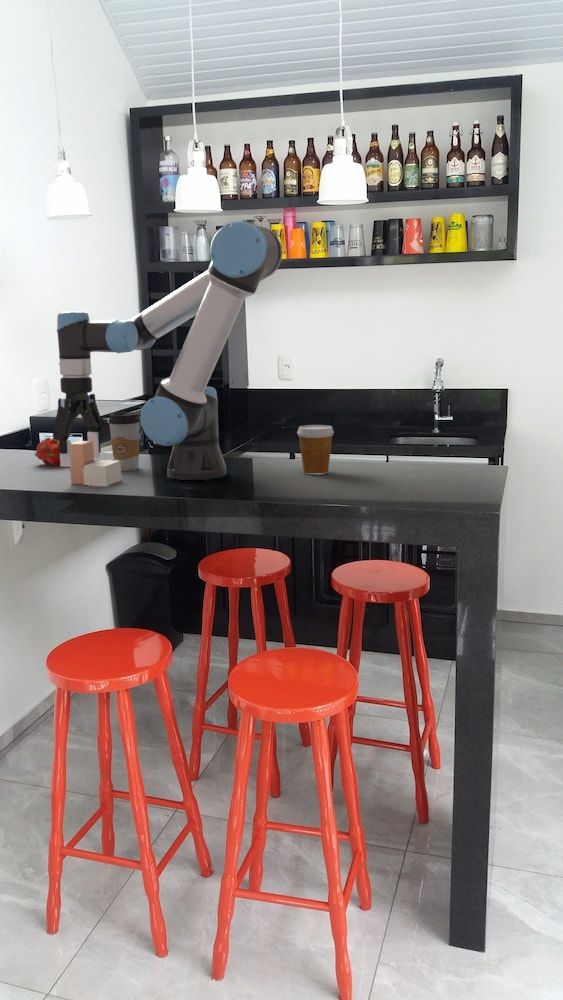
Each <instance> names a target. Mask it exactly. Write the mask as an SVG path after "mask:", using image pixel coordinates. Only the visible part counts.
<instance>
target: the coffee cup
mask: <svg viewBox="0 0 563 1000" xmlns="http://www.w3.org/2000/svg"><path fill="white" fill-rule="evenodd" d="M140 423H141V420H140V417H139V416H138V412H131V411H130V412H127V411H126V412H125V411H124V412H113V413H110V414H109V417H108V425H109V431H110V442H111V449H112V456H113V461H120V465H121V472H128V471H129V472H130V470H131V471H136V470H137V469H139V468H138V467H140V461H139V460H140V459H139V457H140Z"/></svg>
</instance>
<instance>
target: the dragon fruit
mask: <svg viewBox="0 0 563 1000" xmlns="http://www.w3.org/2000/svg"><path fill="white" fill-rule="evenodd" d="M34 456H35V457H37V458H38V460H40V461H42V462H43V464H44V466H46V465H47V464H50V465H52V466H53V465H54V466H55V467H62V466H61V465H60V451H59V440H55V439H54V438H53V437H52V438H51V437H46V438H45V439H42V440H41V441H40V442H39V443H38V444H37V446H36V452H35V453H34Z"/></svg>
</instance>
